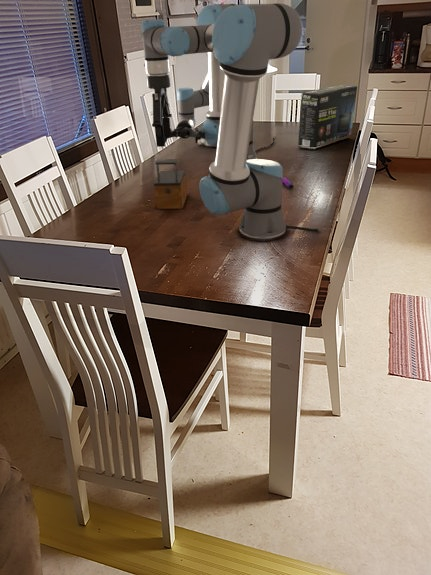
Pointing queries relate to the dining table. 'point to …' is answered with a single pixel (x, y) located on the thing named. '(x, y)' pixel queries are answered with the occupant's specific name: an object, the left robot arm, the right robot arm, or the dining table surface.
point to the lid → (168, 174)
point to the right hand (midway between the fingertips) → (164, 141)
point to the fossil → (203, 142)
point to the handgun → (287, 183)
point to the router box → (326, 115)
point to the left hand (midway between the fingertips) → (180, 140)
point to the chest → (171, 196)
